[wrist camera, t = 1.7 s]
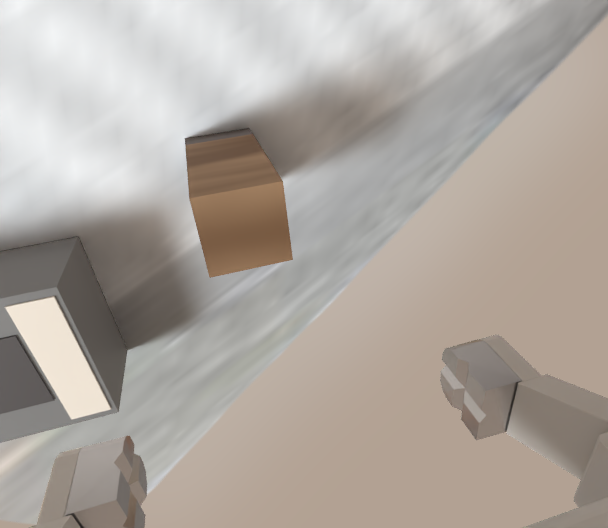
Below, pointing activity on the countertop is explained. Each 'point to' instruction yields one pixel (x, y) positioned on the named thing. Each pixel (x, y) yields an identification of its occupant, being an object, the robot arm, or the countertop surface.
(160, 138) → the countertop surface
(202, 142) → the brown wooden block
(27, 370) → the switch box
